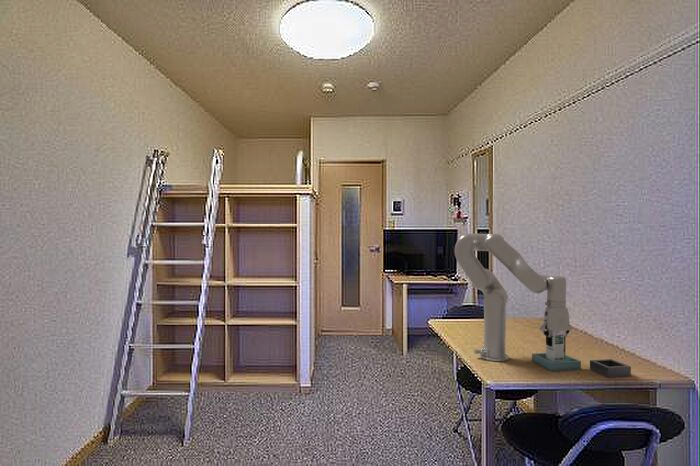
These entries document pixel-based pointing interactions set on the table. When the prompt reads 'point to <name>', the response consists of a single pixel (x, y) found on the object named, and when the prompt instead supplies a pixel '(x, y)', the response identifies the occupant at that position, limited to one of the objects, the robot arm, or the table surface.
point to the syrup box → (556, 347)
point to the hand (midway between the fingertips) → (555, 344)
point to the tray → (556, 363)
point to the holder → (610, 368)
